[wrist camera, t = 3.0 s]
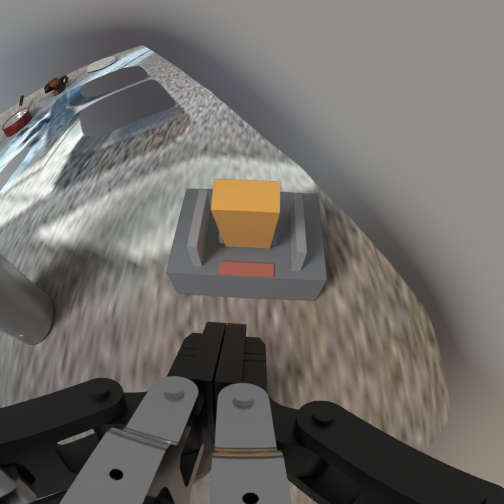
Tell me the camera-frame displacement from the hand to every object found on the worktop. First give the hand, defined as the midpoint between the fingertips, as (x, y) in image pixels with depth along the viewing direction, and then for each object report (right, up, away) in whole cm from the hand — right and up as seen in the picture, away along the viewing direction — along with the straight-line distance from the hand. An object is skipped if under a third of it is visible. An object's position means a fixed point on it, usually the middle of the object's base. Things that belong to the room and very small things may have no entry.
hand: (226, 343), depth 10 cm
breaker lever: (+1, +5, +23) cm, 23 cm away
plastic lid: (-68, +88, +80) cm, 138 cm away
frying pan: (-94, +58, +61) cm, 126 cm away
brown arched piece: (-81, +72, +70) cm, 129 cm away
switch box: (+1, +3, +28) cm, 29 cm away
